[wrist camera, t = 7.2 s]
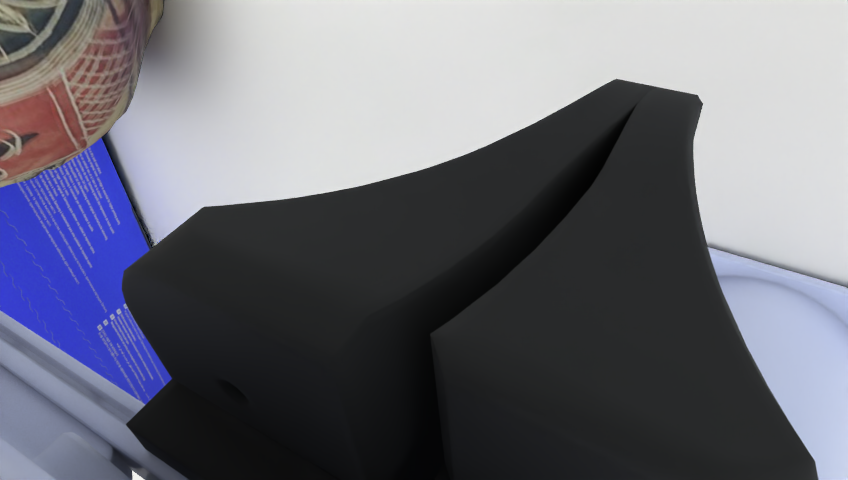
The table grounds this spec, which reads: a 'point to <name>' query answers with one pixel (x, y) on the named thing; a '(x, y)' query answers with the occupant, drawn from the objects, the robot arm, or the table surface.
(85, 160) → the blue cardboard box
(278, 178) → the table surface
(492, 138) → the table surface
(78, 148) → the ceramic jug
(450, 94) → the table surface
